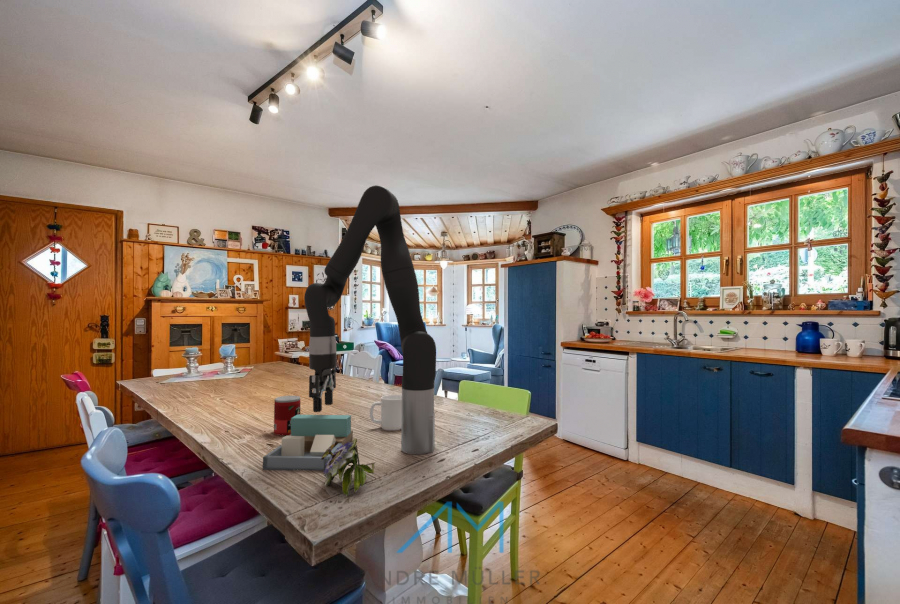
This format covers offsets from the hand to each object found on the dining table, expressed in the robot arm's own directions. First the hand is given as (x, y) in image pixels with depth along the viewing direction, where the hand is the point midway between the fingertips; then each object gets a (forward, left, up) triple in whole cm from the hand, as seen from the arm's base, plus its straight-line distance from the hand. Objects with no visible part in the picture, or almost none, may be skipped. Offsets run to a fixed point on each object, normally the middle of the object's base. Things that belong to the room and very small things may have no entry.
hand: (323, 408), depth 111 cm
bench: (0, +2, -11) cm, 11 cm away
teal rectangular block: (0, +1, -7) cm, 7 cm away
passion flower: (-15, +25, -11) cm, 31 cm away
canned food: (+16, -12, -11) cm, 23 cm away
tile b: (+4, +9, -8) cm, 12 cm away
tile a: (-3, +8, -9) cm, 12 cm away
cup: (-15, -19, -11) cm, 27 cm away
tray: (0, +12, -11) cm, 16 cm away
